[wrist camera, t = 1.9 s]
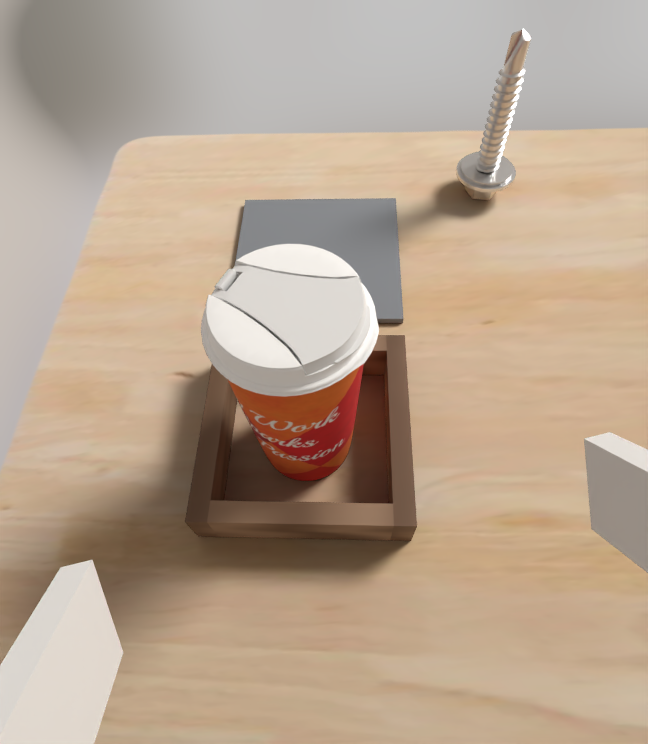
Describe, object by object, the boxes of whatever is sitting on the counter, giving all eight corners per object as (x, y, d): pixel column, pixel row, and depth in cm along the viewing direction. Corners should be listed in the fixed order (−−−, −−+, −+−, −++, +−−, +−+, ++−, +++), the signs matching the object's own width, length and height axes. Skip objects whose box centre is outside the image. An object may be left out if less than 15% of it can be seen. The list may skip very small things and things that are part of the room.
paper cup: (225, 466, 33) (156, 335, 21) (285, 372, 36) (254, 216, 25) (336, 521, 31) (329, 410, 19) (388, 416, 34) (409, 268, 22)
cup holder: (400, 360, 37) (404, 335, 34) (410, 540, 30) (416, 526, 27) (225, 359, 37) (216, 335, 35) (198, 536, 31) (185, 521, 28)
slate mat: (395, 203, 45) (395, 198, 45) (402, 323, 38) (403, 318, 38) (246, 204, 46) (245, 200, 45) (227, 322, 39) (226, 318, 38)
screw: (509, 211, 44) (451, 207, 45) (508, 174, 47) (453, 171, 47) (564, 49, 33) (486, 46, 34) (558, 12, 36) (485, 10, 36)
